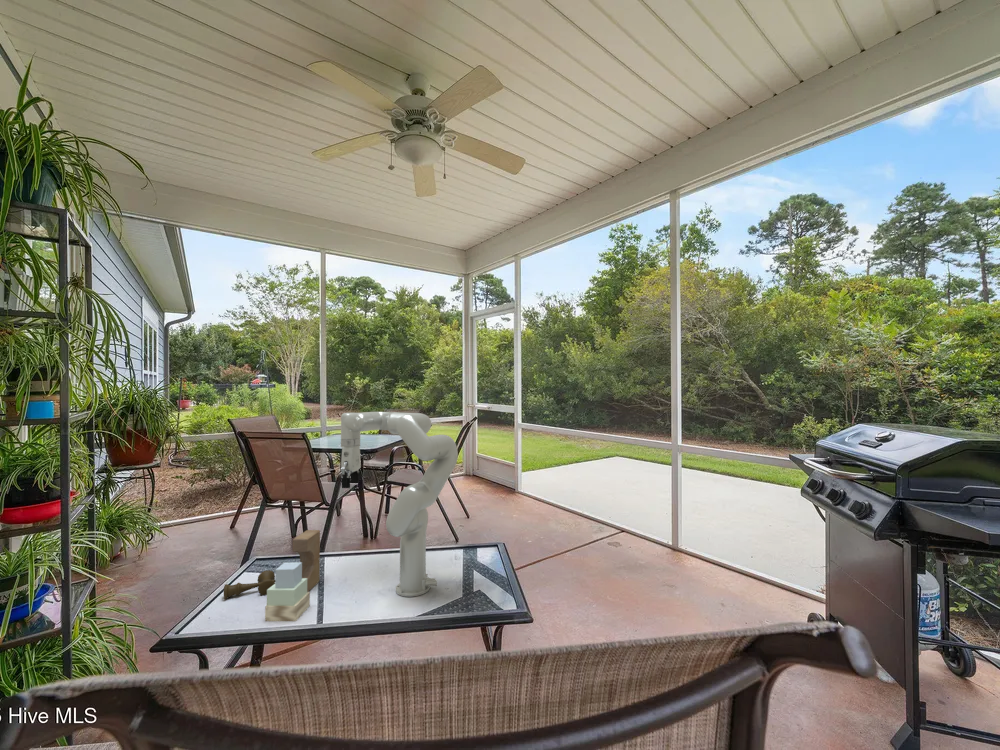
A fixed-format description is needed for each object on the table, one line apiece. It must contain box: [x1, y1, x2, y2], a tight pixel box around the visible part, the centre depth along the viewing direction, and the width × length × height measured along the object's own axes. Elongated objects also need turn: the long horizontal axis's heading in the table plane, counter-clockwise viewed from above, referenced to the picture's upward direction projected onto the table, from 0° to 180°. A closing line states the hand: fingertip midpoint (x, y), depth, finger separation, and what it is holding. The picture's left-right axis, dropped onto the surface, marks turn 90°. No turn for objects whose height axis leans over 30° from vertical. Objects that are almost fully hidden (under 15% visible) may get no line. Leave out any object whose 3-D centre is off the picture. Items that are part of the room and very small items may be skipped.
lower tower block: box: [264, 591, 311, 622], centre depth 144 cm, size 10×10×5 cm
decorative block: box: [292, 529, 321, 592], centre depth 164 cm, size 11×6×20 cm, turn 177°
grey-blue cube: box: [274, 561, 302, 588], centre depth 144 cm, size 6×6×6 cm
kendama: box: [223, 569, 276, 600], centre depth 160 cm, size 6×10×20 cm
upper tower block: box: [266, 578, 307, 606], centre depth 144 cm, size 9×9×5 cm
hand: (350, 485), depth 175 cm, fingers open, 9 cm apart
